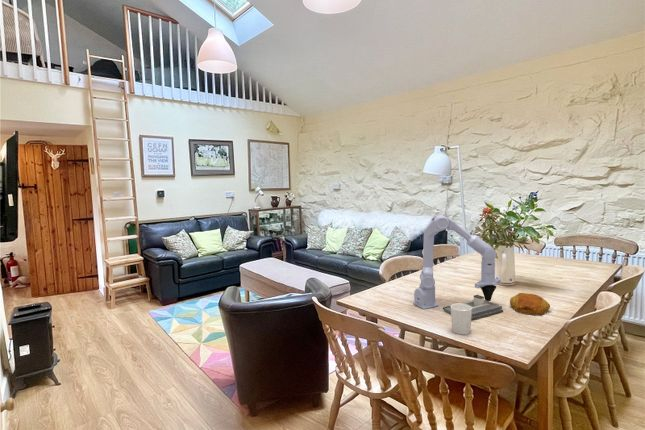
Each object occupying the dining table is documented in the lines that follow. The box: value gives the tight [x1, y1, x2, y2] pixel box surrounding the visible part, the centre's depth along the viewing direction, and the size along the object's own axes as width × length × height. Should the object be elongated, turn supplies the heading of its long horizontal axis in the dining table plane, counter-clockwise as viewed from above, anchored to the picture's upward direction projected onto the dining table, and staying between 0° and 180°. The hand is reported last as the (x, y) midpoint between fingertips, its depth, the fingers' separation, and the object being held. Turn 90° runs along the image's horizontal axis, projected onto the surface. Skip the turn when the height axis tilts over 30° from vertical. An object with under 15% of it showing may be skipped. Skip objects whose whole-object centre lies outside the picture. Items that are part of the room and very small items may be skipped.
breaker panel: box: [443, 299, 503, 318], centre depth 160 cm, size 24×11×3 cm, turn 114°
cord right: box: [471, 309, 504, 322], centre depth 153 cm, size 20×1×1 cm, turn 114°
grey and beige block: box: [473, 294, 485, 306], centre depth 161 cm, size 2×4×4 cm
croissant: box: [509, 292, 551, 316], centre depth 158 cm, size 14×16×8 cm
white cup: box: [450, 302, 473, 336], centre depth 139 cm, size 8×8×10 cm
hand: (487, 300), depth 164 cm, fingers closed
